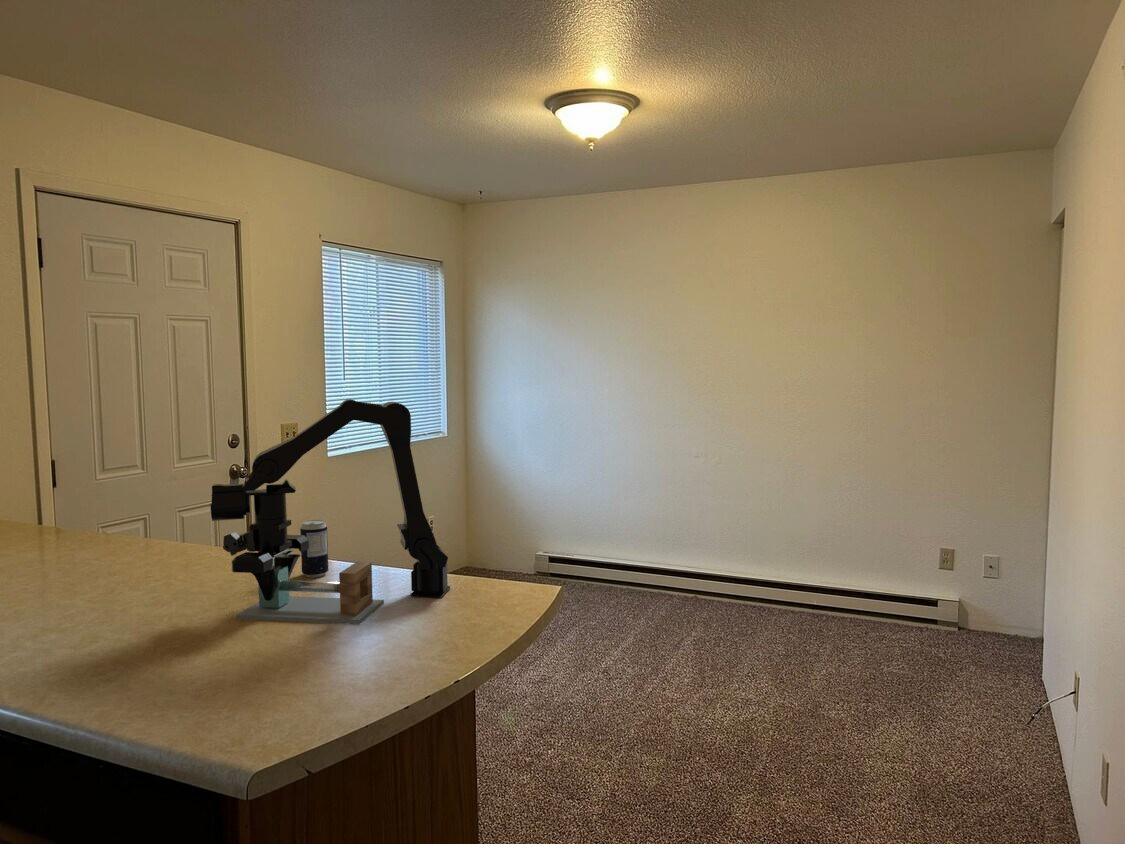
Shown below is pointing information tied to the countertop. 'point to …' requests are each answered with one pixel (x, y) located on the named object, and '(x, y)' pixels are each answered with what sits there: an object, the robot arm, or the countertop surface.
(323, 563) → the beverage can
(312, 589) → the green cube on rod
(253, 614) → the base board
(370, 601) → the square wooden collar
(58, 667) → the countertop surface
